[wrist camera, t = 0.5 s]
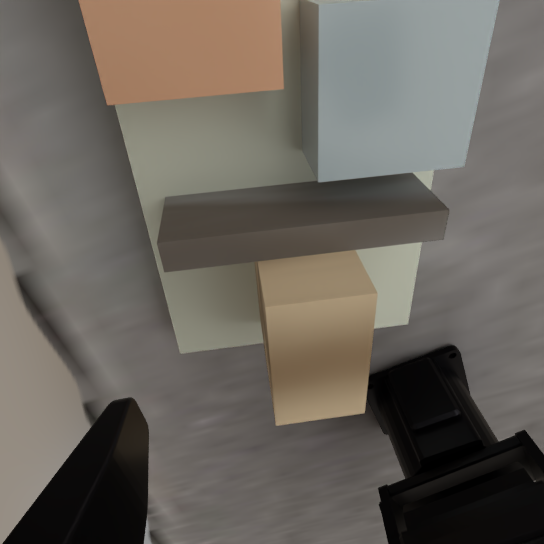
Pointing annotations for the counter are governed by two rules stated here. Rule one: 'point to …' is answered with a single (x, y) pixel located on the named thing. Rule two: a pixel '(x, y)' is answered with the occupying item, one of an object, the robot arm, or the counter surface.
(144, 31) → the tile front
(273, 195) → the scraper
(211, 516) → the counter surface
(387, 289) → the board
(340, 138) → the tile back
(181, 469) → the counter surface
